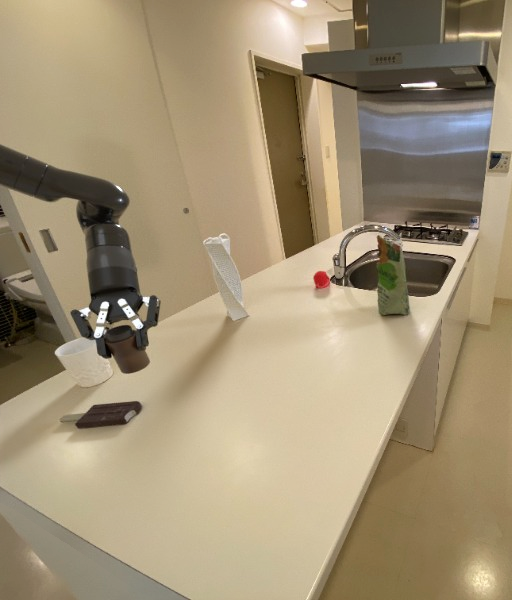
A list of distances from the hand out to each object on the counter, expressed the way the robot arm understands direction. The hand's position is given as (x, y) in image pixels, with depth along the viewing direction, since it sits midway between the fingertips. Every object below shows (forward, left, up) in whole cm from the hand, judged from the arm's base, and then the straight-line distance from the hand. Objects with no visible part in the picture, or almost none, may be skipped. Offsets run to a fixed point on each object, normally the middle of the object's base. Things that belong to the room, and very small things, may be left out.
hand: (125, 353), depth 62 cm
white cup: (-22, +16, -17) cm, 32 cm away
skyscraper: (+4, +43, -17) cm, 47 cm away
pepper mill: (-1, +2, -4) cm, 5 cm away
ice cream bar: (-12, +2, -17) cm, 21 cm away
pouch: (+55, +38, -17) cm, 69 cm away
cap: (+30, +62, -17) cm, 71 cm away
